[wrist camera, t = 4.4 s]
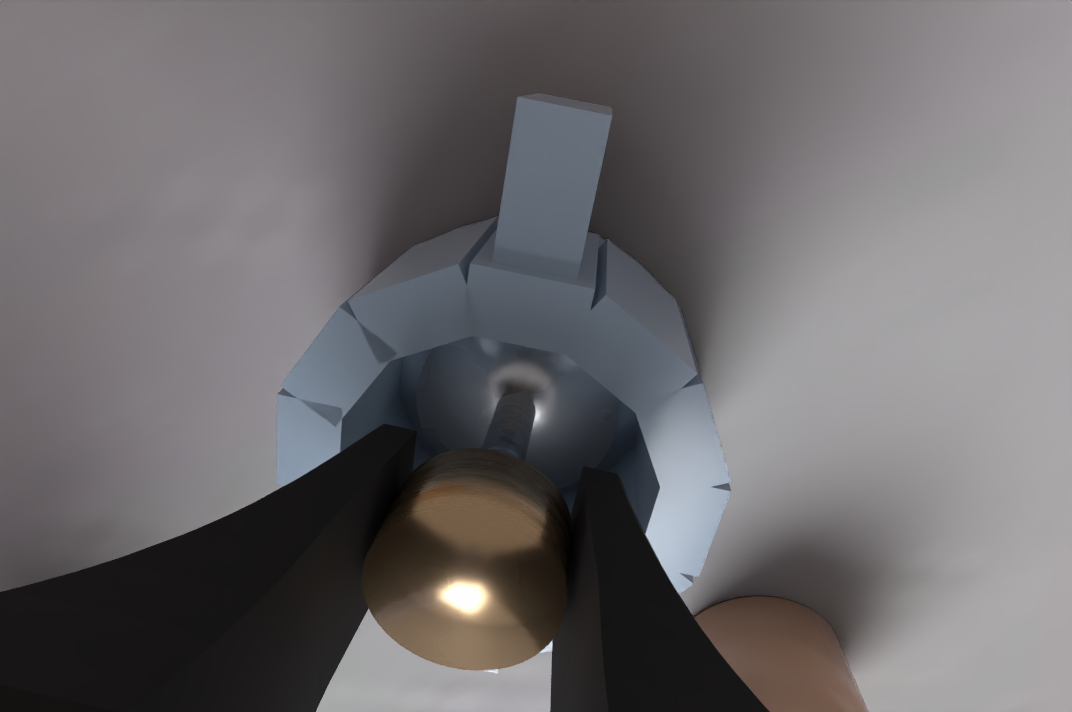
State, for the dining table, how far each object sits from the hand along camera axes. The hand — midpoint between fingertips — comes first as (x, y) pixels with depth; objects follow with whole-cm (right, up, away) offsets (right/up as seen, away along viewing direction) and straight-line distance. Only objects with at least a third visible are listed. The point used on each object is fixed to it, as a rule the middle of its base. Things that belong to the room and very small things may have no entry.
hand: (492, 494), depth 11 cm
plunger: (0, +1, +3) cm, 4 cm away
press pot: (+1, +2, +4) cm, 4 cm away
